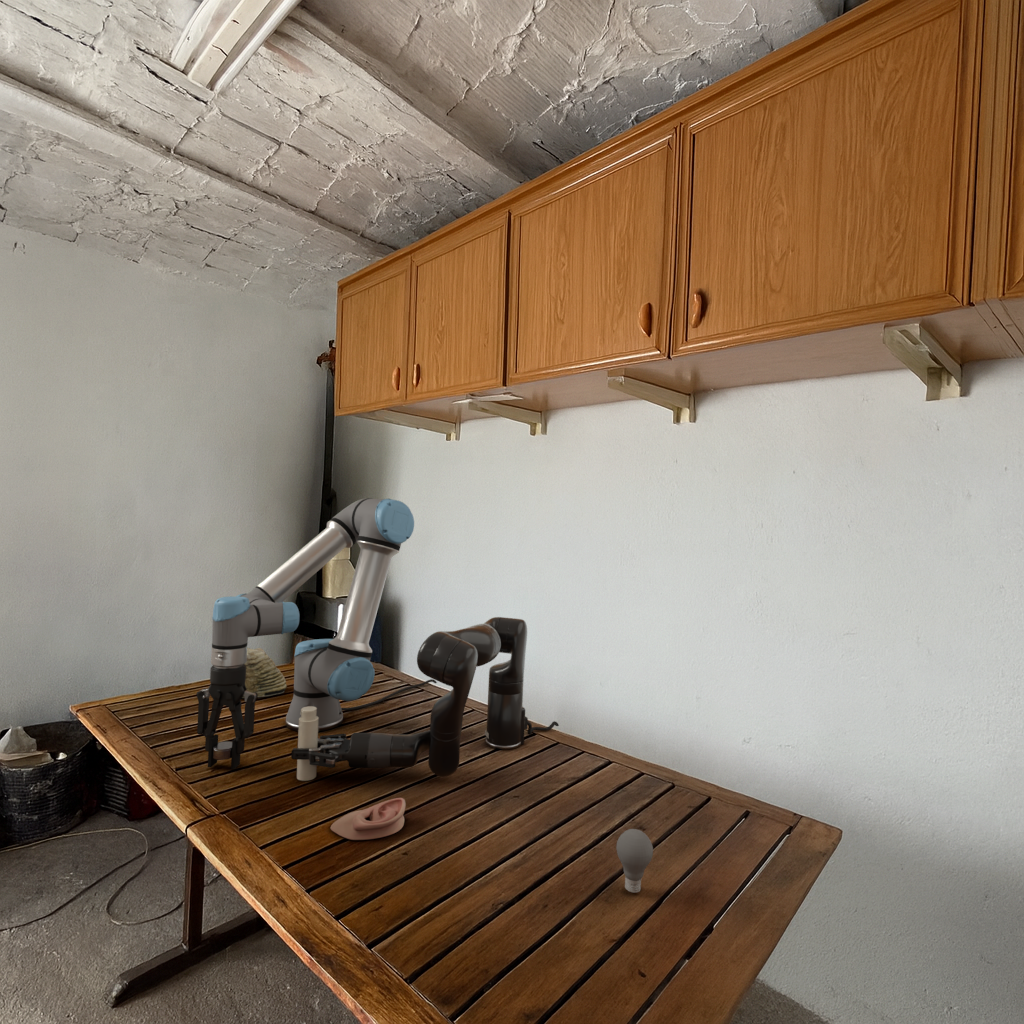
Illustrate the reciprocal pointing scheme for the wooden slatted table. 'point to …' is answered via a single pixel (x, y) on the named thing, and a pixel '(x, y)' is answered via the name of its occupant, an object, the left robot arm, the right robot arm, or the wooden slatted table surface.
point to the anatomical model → (372, 821)
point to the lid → (222, 751)
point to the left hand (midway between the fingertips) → (223, 765)
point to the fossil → (263, 674)
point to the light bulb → (634, 857)
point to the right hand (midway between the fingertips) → (295, 749)
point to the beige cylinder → (307, 741)
